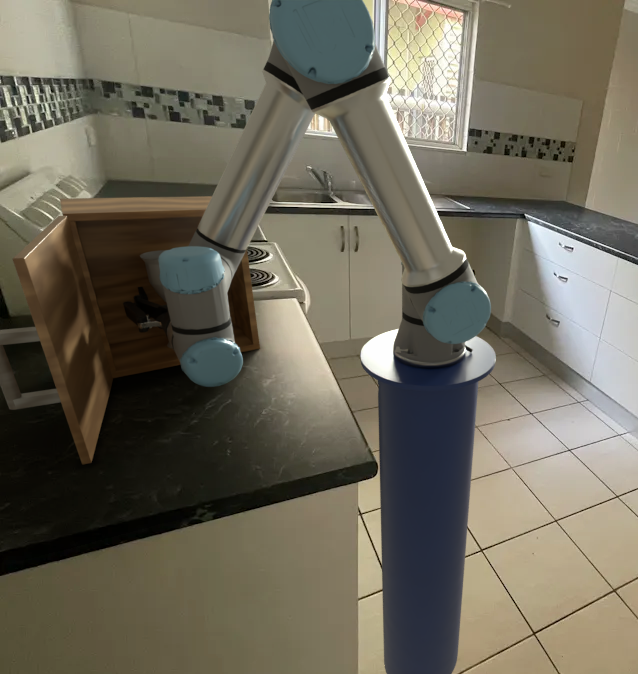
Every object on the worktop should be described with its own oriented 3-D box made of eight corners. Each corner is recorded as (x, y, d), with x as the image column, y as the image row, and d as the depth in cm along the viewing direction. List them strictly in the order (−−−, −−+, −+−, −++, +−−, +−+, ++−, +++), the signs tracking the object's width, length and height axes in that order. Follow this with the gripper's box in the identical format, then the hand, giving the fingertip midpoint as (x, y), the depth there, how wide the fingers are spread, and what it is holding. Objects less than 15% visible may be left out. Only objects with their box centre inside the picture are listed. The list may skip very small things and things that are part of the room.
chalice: (209, 336, 98) (193, 250, 91) (196, 350, 92) (179, 260, 85) (168, 336, 96) (149, 249, 89) (153, 351, 90) (132, 259, 83)
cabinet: (260, 348, 98) (241, 208, 86) (109, 379, 82) (62, 213, 71) (241, 325, 107) (221, 196, 95) (102, 349, 92) (59, 198, 80)
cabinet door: (28, 476, 60) (-58, 261, 49) (66, 386, 79) (9, 216, 67) (91, 462, 63) (24, 258, 52) (113, 379, 82) (67, 215, 71)
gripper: (119, 365, 73) (105, 317, 88) (263, 338, 86) (230, 300, 101) (107, 320, 70) (95, 278, 85) (258, 299, 83) (225, 266, 98)
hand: (168, 290), depth 93 cm, fingers open, 8 cm apart
